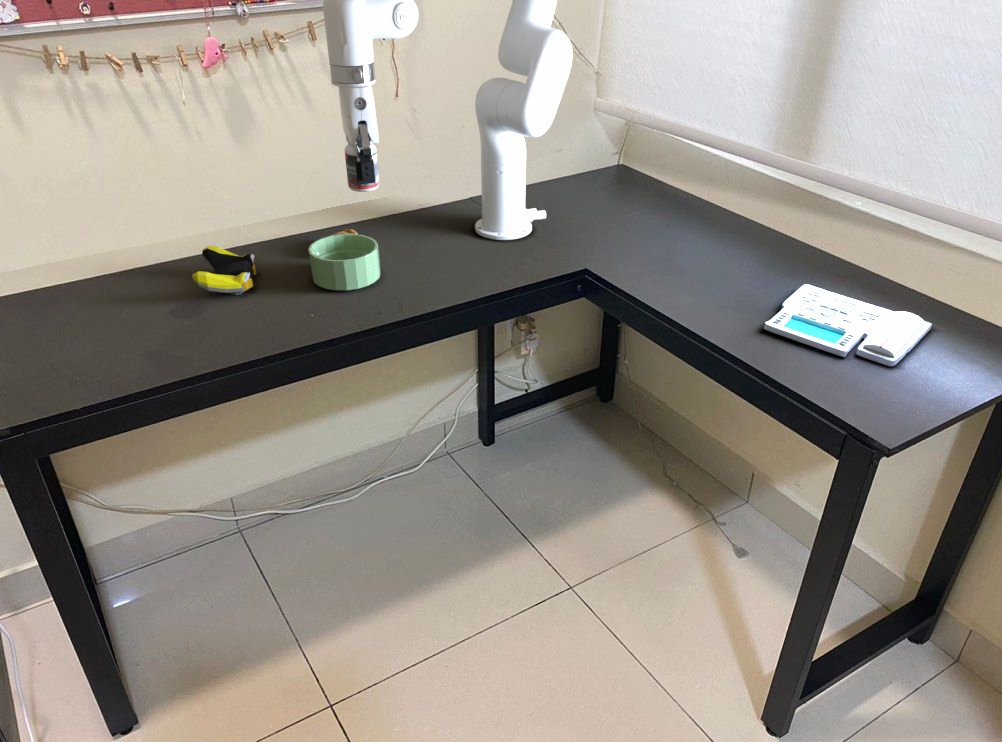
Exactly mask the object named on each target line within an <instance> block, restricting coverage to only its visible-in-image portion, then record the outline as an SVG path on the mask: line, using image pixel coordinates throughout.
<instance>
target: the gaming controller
mask: <svg viewBox="0 0 1002 742" xmlns="http://www.w3.org/2000/svg"><path fill="white" fill-rule="evenodd" d="M201 255H202V258H203V259H204V261H206V263H207V264H208V265H209V266H210V267H211V269H212V270H213V271H214V272H213V273H211V272H208V271H200V270H198V271H196V272H194V273H192V274H191V275H192V277H191V278H192V282H193V283H194V284H195V285H196V286H197V287H199V288H201V289H202V290H203V291H206V292H209V293H211V294H230V295H231V296H239V295H242V293H244V292H246V291H248V290H250V289H251V288H253V287H254V278H255V276H256V275H257V270H256V265H255V264H254V262H255V254H251V253H245V254H244V255H238V254H236V253H233V252H232V251H229V250H227V249H224V248H222V247H219V246H214V245H208V246H206V247H205V248H203V249H202V252H201Z"/></svg>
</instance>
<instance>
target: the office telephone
mask: <svg viewBox="0 0 1002 742" xmlns="http://www.w3.org/2000/svg"><path fill="white" fill-rule="evenodd" d="M932 325H933V324H932V323H931V322H928V321H925V320H924V319H923V318H922V317H920V316H919V315H916V314H914V313H913V312H908V311H903V310H902V311H893V310H891V309H887V308H884V307H880V306H877V305H874V304H870V303H867V302H865V301H861V300H857V299H856V298H855V299H854V298H851V297H848V296H845V295H841V294H838V293H835V292H831V291H828V290H826V289H823V288H820V287H817V286H814V285H811V284H807V283H805V284H803V285H802V286H801V287H799V288H798V289H797V290H796V291H795V292H794V293H793V294H791V295H790V296H789V297H788V298H787V299H786V300H785V301H783V303H782V306H781V310H780V311H779V312H778V313H777V314H775V315H774V316H773V317H772V318H771V319H769V320H768V321H765V322H764V327H763V329H764V330H766V331H768V332H769V333H773V334H775V335H779V336H782V337H785V338H788V339H790V340H792V341H796V342H798V343H802V344H804V345H807V346H810V347H813V348H816V349H818V350H821V351H824V352H827V353H830V354H833V355H836V356H840V357H843V358H845V357H847V354H848V353H850V351H851V350H852V349H853V348H854V347H855V346H856V345H857V344H858V343H859V342H860V341H861V340H862V339H864V340H863V341H862V342H861V344H860V345H859V346H858V347H857V350H856V352H855V353H856V355H857V356H859V357H861V358H864V359H868V360H871V361H873V362H876V363H879V364H881V365H883V366H888V367H894V366H896V365H897V364H898V363H899V362H900V361H901V360H902V359H903V358H905V356H906V354H908V353H909V352H911V350H913V348H914V347H915V346H916V345H917V344H918V343H919V342H920V341H921V339H923V338H924V336H926V335H927V333H928V332H929V331H930V330H931V328H932Z"/></svg>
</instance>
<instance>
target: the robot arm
mask: <svg viewBox="0 0 1002 742" xmlns="http://www.w3.org/2000/svg"><path fill="white" fill-rule="evenodd" d="M557 2H558V0H512V1H511V4H510V5H511V6H510V8H509V12H508V15H507V18H506V21H505V25H504V28H503V31H502V35H501V38H500V42H499V45H498V51H497V59H498V62H499V64H500V66H501V67H502V68H503V69H504V70H507V71H508V72H509V73H513V74H516V75H519V76H523V77H526V81H525V83H524V82H521V81H518V80H515V79H510V78H507V77H492V78H490V79H487V80H485V81H484V82H483V83H482V84H481V85H480V87H478V90H477V92H476V94H475V99H474V101H475V102H474V106H475V109H474V110H475V116H476V120H477V126H478V131H479V141H480V176H481V178H480V180H481V182H480V184H481V185H480V186H481V218H480V219H478V220H477V221H476V222H475V224H474V230H475V232H476V234H478V235H479V236H481V237H483V238H485V239H490V240H495V241H512V240H513V241H514V240H518V239H522V238H524V237H526V236H529V234H531V232H532V231H533V224H532V223H533V221H534V220H538V221H540V220H546V219H547V212H546V210H545V209H543V210H537V208H536V207H534V208H527V207H526V188H527V187H526V184H527V183H526V182H527V181H526V180H527V179H526V178H527V176H526V175H527V146H526V140H525V138H531V139H533V138H534V139H536V138H540V137H541V136H543V135H544V134H546V133H547V132H548V130H549V129H550V128H551V126H552V124H553V121H554V120H555V116H556V114H557V111H558V108H559V105H560V102H561V100H562V96H563V93H564V90H565V87H566V84H567V82H568V79H569V75H570V73H571V69H572V65H573V46H572V43H571V40H570V38H569V36H568V35H567V34H566V32H564V31H562V30H561V29H558V28H556V27H551V26H552V22H553V19H554V16H555V11H556V9H557ZM322 9H323V10H322V11H323V19H324V20H323V21H324V29H325V36H326V46H327V54H328V55H327V56H328V62H329V63H328V65H329V74H330V80H331V85H333V86H335V87H338V96H339V97H338V98H339V106H340V107H339V108H340V115H341V122H342V128H343V132H344V135H345V136H346V134H347V136H348V139H349V141H350V143H351V144H352V145H354V146H355V152H356V159H357V162H355V165H356V175H357V182H358V184H369V183H375V171H374V161H373V156H372V149H371V142H372V144H373V143H374V145H378V143H379V142H380V137H379V130H378V121H377V114H376V106H375V100H374V93H373V88H372V85H374V84H376V82H377V81H376V70H375V59H374V58H375V57H374V47H373V46H374V44H373V40H375V39H386V40H398V39H403V38H405V37H407V36H409V35H411V33H412V32H413V31H414V30H415V29H416V27H417V25H418V22H419V8H418V6H417V4H416V2H415V1H414V0H322ZM369 135H370V136H369ZM370 139H371V140H372V141H371V142H370ZM359 140H361V144H357V141H359ZM359 148H362V150H360V153H359Z"/></svg>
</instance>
